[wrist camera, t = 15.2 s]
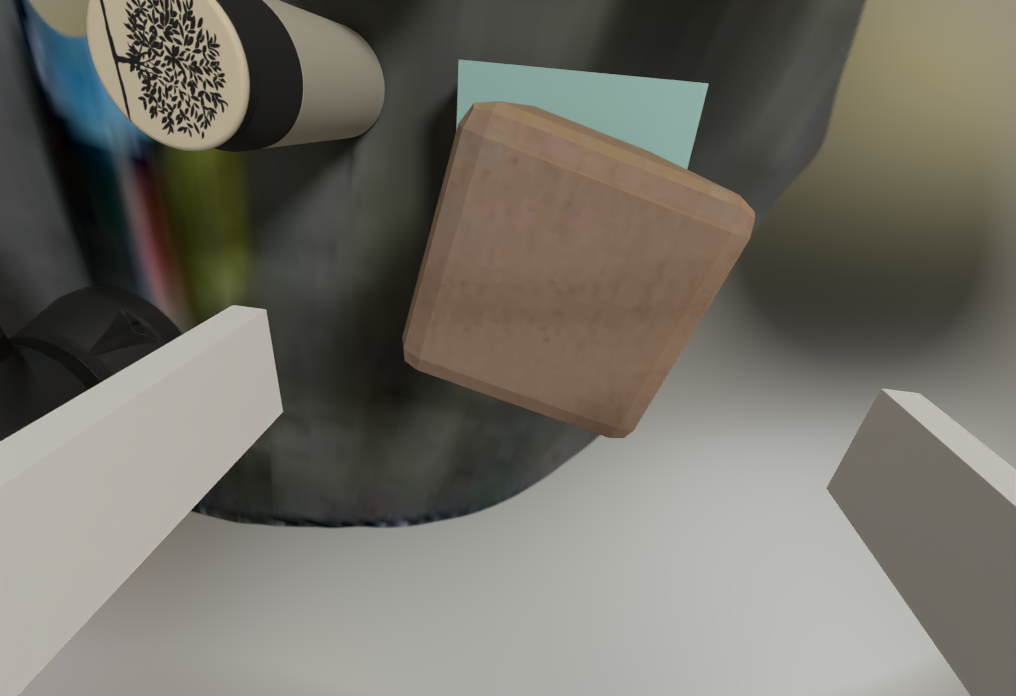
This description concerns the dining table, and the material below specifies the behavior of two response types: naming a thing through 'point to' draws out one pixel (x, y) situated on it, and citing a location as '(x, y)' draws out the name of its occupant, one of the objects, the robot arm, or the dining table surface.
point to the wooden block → (566, 267)
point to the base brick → (595, 102)
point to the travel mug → (234, 72)
